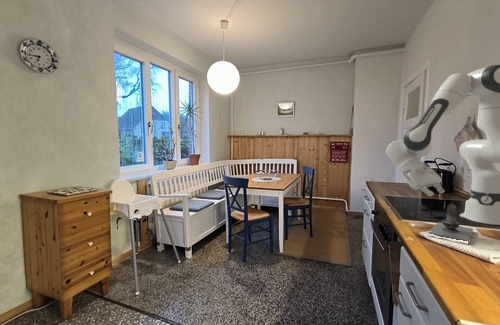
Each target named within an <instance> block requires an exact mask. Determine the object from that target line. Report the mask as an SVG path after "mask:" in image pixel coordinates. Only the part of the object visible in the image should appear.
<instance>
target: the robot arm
mask: <svg viewBox="0 0 500 325" xmlns="http://www.w3.org/2000/svg"><path fill="white" fill-rule="evenodd" d="M477 95H478V97H479V104H478V110H477V121H476V127H477V128H478V129H479V130H481V131H483V132H484V133H485V137H486V139H484V138H483V139H481V138H480V139H479V138H478V139H477V138H476V139H471V140H467V141H464V142H463V143H461V144H460V146H459V150H458V153H459V156H460V157H461V158H462V159H463V160H464V161H465V162H466V164H467V165H468V167H469V170H470V172H471V189H470V192H469V197H470V198H469V199H466V200H465V205H464V206H465V207H464V211H463V212H462V213H460V214H459V217H461V218H465V219H467V220H469V221H472V222H476V223H482V224H487V225H495V226H496V225H497V226H500V171H499V170H497V168H496V166H495V164H500V64H494V65H490V66H486V67H481V68H477V69H476V70H473V71H471V72H468V73H463V72H457V73H453V74H451V75H449V76H448V77H446V79H445V81H444V82H443V83H442V84H441V85H440V87H439V88H438V90H437V91H436V92H435V94H434V96H433V98H432V100H431V101H430V104H429V106H428V108H427V109H426V111H424V113H423V115H422V116H421V118H420V119H419V120H418V121H417V123H416V124H414V126H413V127H411V128H409V129H408V130H407V131H406V132H405V133H404V135H403V139H402V140H393V141H391V142H390V143H389V144H388V145H387V147H386V148H385V155H386V156H387V157H388V158H389V160H390V161H391V162H392V163H393V164H394V165H395V166H397V167H398V170H399V171H400V172H401V173H402V175H403V178H404V181H406V183H407V184H408V185H409V187H410V188H411V189H413V190H415V191H416V190H420V191H421V192H422V193H424V194H426V195H427V196H428V197H432V196H433V195H434V194H435V193H434V192H433V191H432V190H430V189H429V187H430V188H431V187H434V188H435V189H436V191H437V192H438V193H439V194H443V193H444V192H445V189H443V187H442V185H441V184H440V183H442V181H443V179H442V178H441V176H440V175H439V174H438V173H437V172H436V171H435V170H434V169H433V168H431V167H432V166H431V165H430V164H429V163H425V162H423V161H421V160H420V159H419V158H422V157H424V156H426V155H428V154H430V152H431V150H432V131H433V129H434V128H435V127H436V125H437V124H438V122H439V121H440V119H441V118H442V117H443V116H448V115H452V114H454V113H455V112H456V111H457V110H458V109H459V107H460V106H461V105H462V104H463V102H464V101H465V99H466V97H471V96H477Z"/></svg>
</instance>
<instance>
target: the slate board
mask: <svg viewBox="0 0 500 325" xmlns="http://www.w3.org/2000/svg"><path fill="white" fill-rule="evenodd" d="M443 228H445V226H444V224H443V222H442V221H441V222H439V221H438V222H437V223H436V224H435V225H434V227H433V228H432V229H431V230H430V231H429V235H430V234H434V235H437V236H441V237H446V238H451V239H456V240H463V241H468V242H469V240H470V241H471V239H470V237H471V238H472V236H471V234H472V235H473V233H472V231H473V232H474V228H473V227H468V226H462V225H459V227H458V228H456V229H457V230H458V231H459V232H458V233H453V232H448V231H445V230H443ZM469 243H470V242H469Z"/></svg>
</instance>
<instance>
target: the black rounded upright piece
mask: <svg viewBox="0 0 500 325" xmlns="http://www.w3.org/2000/svg"><path fill="white" fill-rule="evenodd" d="M445 213H446V218H445V219H442V220H441V223H443V224H444V226H445V228H443V230H445V231H448V232H453V233H458V232H459V231H458V230H457V229H456V228H458V227H459V226H460V225H461V222H459V221H457V215H458V213H457V206H456V204H454V203H453V202H451V203H450V204H448V205H447V207H446V212H445Z"/></svg>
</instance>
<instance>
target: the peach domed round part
mask: <svg viewBox="0 0 500 325" xmlns="http://www.w3.org/2000/svg"><path fill="white" fill-rule="evenodd" d="M408 226H410V227H412V228H416V229H430V228H431V225H430V224H428V223H427V222H423V221H422V222H421V221H418V220H417V221H416V220H413V221H411V220H410V221H409V222H408Z"/></svg>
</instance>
